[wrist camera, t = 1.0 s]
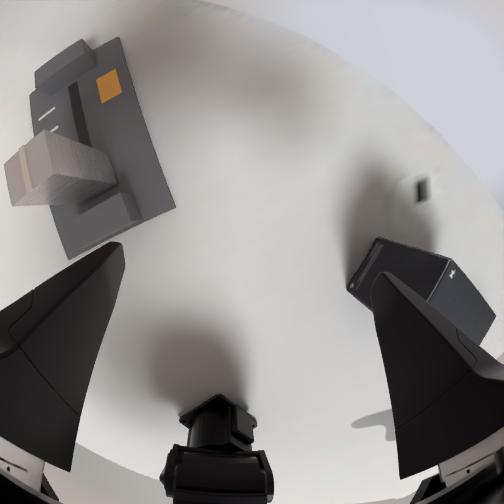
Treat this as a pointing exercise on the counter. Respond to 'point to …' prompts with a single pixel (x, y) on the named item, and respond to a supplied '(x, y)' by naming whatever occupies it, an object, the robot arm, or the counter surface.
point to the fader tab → (57, 172)
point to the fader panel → (100, 141)
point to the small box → (426, 284)
